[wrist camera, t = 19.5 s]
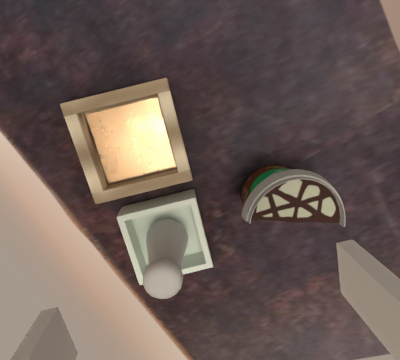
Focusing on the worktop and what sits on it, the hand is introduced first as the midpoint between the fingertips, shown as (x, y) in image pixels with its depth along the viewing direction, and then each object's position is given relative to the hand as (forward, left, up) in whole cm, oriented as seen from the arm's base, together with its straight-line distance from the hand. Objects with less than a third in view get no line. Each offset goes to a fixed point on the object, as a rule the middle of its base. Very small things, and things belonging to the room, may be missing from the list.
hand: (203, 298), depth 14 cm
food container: (+5, +12, -29) cm, 32 cm away
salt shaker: (+9, -5, -28) cm, 30 cm away
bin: (+9, -5, -29) cm, 30 cm away
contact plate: (-5, -6, -29) cm, 30 cm away
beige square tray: (-5, -6, -29) cm, 30 cm away
